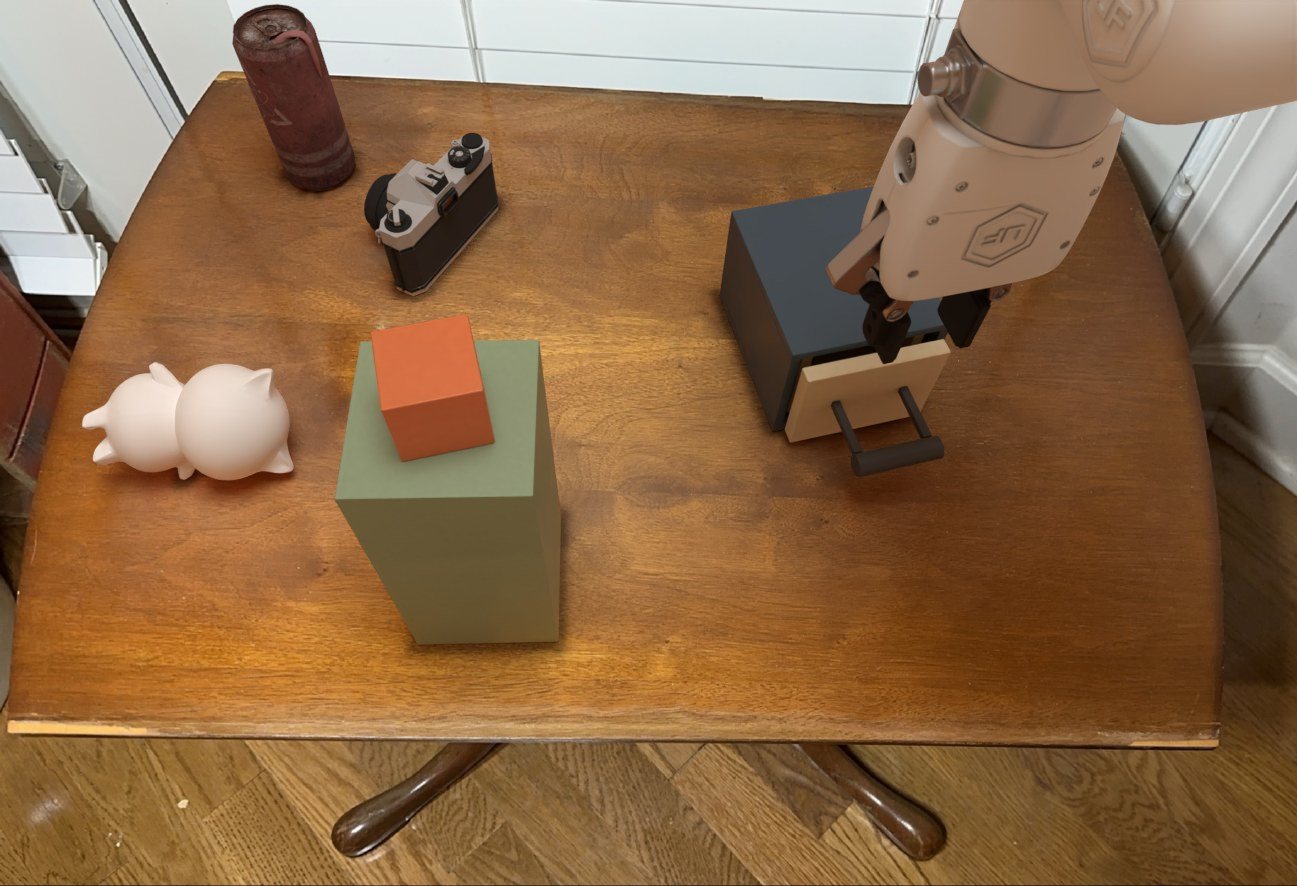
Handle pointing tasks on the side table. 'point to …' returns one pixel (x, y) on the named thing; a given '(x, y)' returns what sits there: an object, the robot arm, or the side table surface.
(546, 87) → the side table surface
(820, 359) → the drawer
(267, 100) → the can
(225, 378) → the cat figurine
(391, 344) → the block
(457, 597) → the stand
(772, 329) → the cabinet
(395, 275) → the camera
